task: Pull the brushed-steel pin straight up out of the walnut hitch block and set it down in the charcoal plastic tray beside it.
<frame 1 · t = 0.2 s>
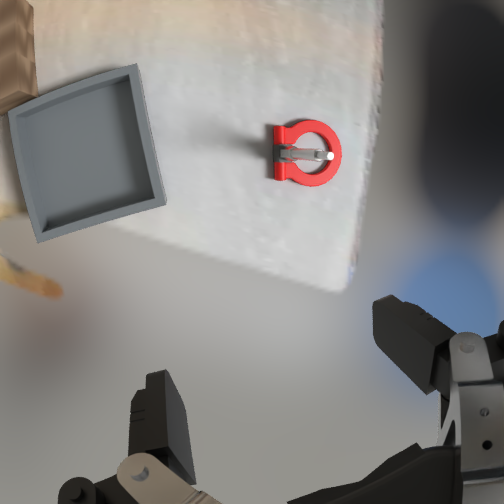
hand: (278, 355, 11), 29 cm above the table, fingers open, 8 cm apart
tow hook: (306, 152, 39), on the table
tray: (87, 153, 33), on the table
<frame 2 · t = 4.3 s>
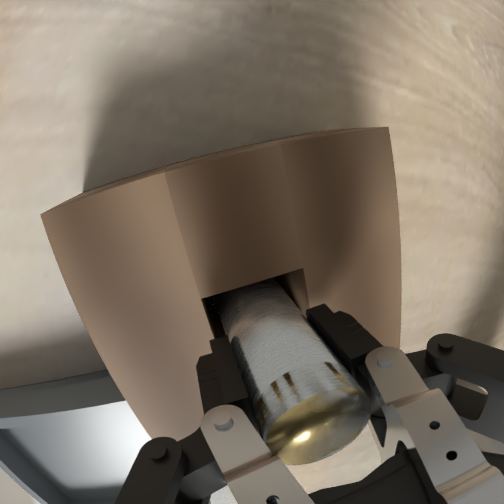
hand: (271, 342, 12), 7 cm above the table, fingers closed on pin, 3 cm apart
pin: (263, 326, 13), in the hitch block, touching gripper
hitch block: (236, 275, 19), on the table
tray: (89, 451, 21), on the table
when the fingers open (10 cm above the table, at t = 10.3 s): pin drops 2 cm, resting on tray.
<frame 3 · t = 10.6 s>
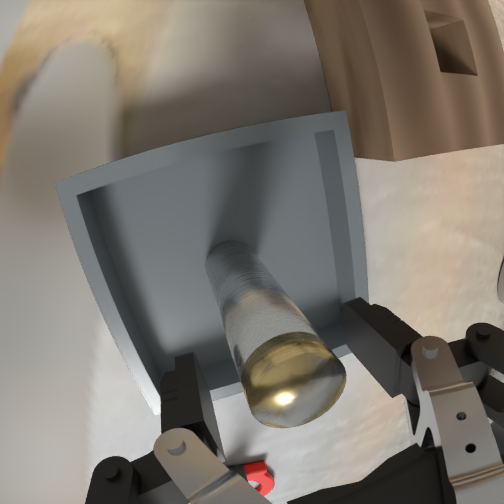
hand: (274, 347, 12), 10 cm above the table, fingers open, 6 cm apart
tow hook: (236, 482, 30), on the table
pin: (253, 308, 15), in the tray, point 7 cm above the table
hitch block: (398, 57, 19), on the table
tray: (228, 261, 21), on the table
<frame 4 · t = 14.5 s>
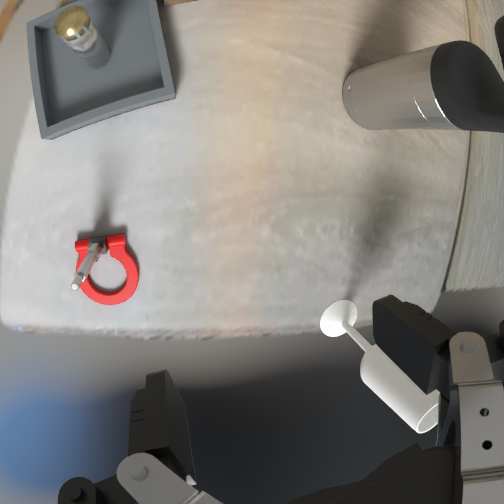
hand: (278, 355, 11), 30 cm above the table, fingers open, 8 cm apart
tow hook: (107, 269, 39), on the table
pin: (86, 41, 24), in the tray, point 7 cm above the table
champagne flute: (338, 318, 49), on the table
tray: (99, 58, 30), on the table
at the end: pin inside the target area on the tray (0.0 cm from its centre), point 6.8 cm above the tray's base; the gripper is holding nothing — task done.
